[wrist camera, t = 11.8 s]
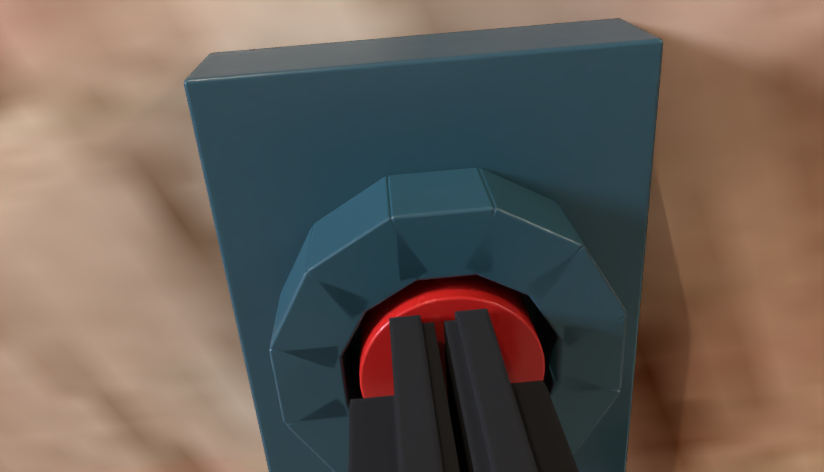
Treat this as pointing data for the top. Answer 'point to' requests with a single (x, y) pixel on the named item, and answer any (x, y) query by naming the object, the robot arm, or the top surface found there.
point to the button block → (432, 208)
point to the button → (437, 306)
